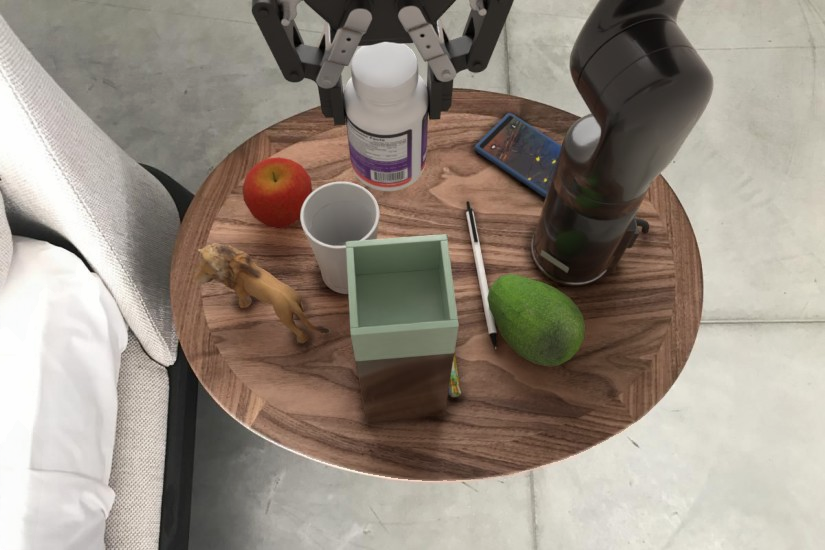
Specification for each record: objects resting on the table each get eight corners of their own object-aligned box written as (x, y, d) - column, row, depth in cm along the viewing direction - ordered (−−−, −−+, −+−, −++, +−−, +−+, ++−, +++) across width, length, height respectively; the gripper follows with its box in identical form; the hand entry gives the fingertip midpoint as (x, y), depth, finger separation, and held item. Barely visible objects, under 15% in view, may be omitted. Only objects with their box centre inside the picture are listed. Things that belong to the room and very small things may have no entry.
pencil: (429, 250, 84) (449, 398, 76) (429, 246, 83) (449, 394, 75) (440, 249, 84) (461, 396, 76) (440, 245, 83) (461, 393, 75)
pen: (471, 203, 87) (471, 198, 86) (499, 349, 79) (500, 346, 78) (463, 204, 87) (464, 199, 86) (491, 350, 79) (492, 347, 78)
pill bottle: (384, 119, 53) (380, 16, 44) (441, 158, 51) (449, 59, 43) (334, 165, 51) (320, 67, 42) (392, 207, 49) (389, 114, 41)
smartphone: (509, 110, 93) (606, 172, 89) (508, 114, 94) (605, 176, 89) (472, 146, 90) (570, 212, 86) (472, 150, 91) (569, 216, 87)
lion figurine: (203, 303, 81) (180, 265, 73) (227, 265, 83) (208, 225, 75) (319, 353, 79) (309, 319, 71) (341, 312, 81) (333, 275, 73)
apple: (239, 203, 87) (225, 165, 80) (296, 174, 89) (287, 134, 82) (270, 250, 84) (257, 214, 77) (328, 218, 86) (321, 181, 79)
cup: (374, 306, 81) (369, 254, 70) (306, 293, 82) (290, 240, 71) (389, 246, 85) (387, 188, 74) (323, 234, 85) (312, 175, 75)
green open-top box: (436, 342, 79) (446, 233, 58) (444, 415, 75) (459, 326, 54) (362, 349, 79) (345, 241, 58) (366, 422, 75) (350, 335, 54)
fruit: (570, 385, 77) (492, 324, 84) (612, 323, 76) (529, 267, 83) (538, 377, 70) (456, 312, 77) (583, 310, 69) (495, 250, 76)
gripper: (206, -81, 29) (274, 166, 44) (556, -97, 30) (505, 152, 45) (214, -190, 33) (274, 74, 48) (528, -202, 33) (490, 62, 48)
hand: (386, 111), depth 46 cm, fingers closed on pill bottle, 5 cm apart
